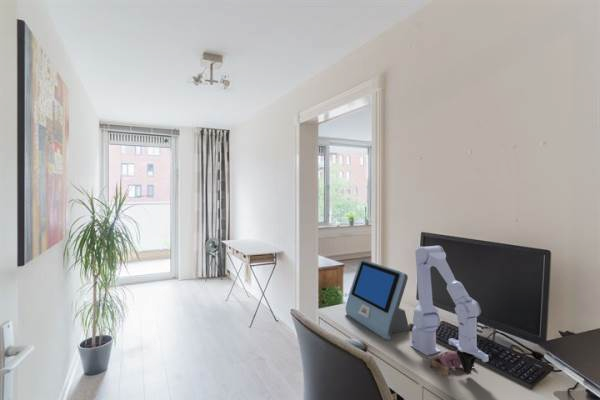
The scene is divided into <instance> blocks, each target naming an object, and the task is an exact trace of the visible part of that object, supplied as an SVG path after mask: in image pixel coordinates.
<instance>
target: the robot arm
mask: <svg viewBox="0 0 600 400" xmlns="http://www.w3.org/2000/svg"><path fill="white" fill-rule="evenodd" d="M414 253H415V267H416V268H415V269H416V278H417V279H416V280H417V293H418V294H417V295H418V305H417V306H416V307H415V309H413V318H412V323H413V326H412V328H411V344H409V345H410V347H412V348H413V349H415V350H417V351H419V352H420V353H422V354H424V355H425V356H429V355H433V354H436V353H440V352H441V349H440V348H438V347H437V330H438V327H439V326H440V325H441V317H440V314H439V310H438V308H436V307H435V306H434V302H433V288H432V287H433V286H432V274H431V268H432V267H434V268H436V269H437V271H438V272H439V274H440V275H441V277H442V278H443V280H444V281H445V283H446V284H447V285H446V290H447V292H448V294H449V296H450V298H451V299H452V302H453V303H454V305H455V307H454V312H455V314H456V318H457V319H456V320H457V322H458V339H455V338H453V337H452V338H448V345H450V346H453V347H456V348H457V351H456V352H457V355H458V356H459V358H460V360H461V363H462V364H461V363H460V364H461V366H462V369H463V370H462V371H463V373H465V374H467V375H468V374H471V372H472V370H473V368H472V367H473V364H474V365H475V362H476V361H477V359H480V360H481V361H482V362H483V363H486V362H489V355H488V354H486V353H485V352H483V351H482V350H480V348H478V347H477V344H478V342H477V337H478V336H477V334H478V332H477V330H478V329H477V328H478V327H477V326H478V325H477V321H478V318H477V317H479V316H480V315H481V313H482V310H481V307H480V304H479V302H477V300H475V299H473V297H470V295H469V293H468V291H467V290H466V288H465V286H464V284H463V283H462V281H458V280H457V279H456V278H455V276H454V273H453V271H452V270H451V267H450V266H449V263H448V262H447V260H446V258H447V253H446V251H445V250H444V248H443V247H442V246H441V245H431V246H419V247H417V249H416V250H415V252H414Z"/></svg>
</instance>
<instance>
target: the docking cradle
mask: <svg viewBox="0 0 600 400" xmlns="http://www.w3.org/2000/svg"><path fill="white" fill-rule="evenodd" d="M429 360H430V361H429V363H430V365H429V366H430V369H432V370H434V371H435V372H437V373H439V374H440V373H441V374H440V375H442V376H444V377H445V378H447V377H449V373H448V368H446V367H445V366H443V365H442V364H441V362H440V360H439V356H437V357H433V358H430V359H429ZM449 361H450V362H451V363H453V361H454V360H449ZM473 367H474V368H475V363H474V364H473Z"/></svg>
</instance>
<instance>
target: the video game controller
mask: <svg viewBox="0 0 600 400" xmlns="http://www.w3.org/2000/svg"><path fill="white" fill-rule="evenodd" d="M438 357H439V360H440V362H441V364H442V365H443V366H445V367H446V368H448V374H449V373H450V369H452V368H453V367H454V368H460V366H461V365H462V363H461V360H460V358H459V356H458V355H457V351H456V350H455V351H454V350H448V351H444V352H442V353H440V354H439V356H438ZM449 360H454V361H453V362H450V361H449Z"/></svg>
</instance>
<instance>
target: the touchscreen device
mask: <svg viewBox="0 0 600 400" xmlns="http://www.w3.org/2000/svg"><path fill="white" fill-rule="evenodd" d="M408 277H409V276H408V274H406V273H404V272H402V271H399V270H397V269H393V268H391V267H387V266H385V265H381V264H377V263H375V262H371V261H369V260H366V259H361V260H360V261H359V262H358V265H357V269H356V272H355V275H354V278H353V280H352V283H351V284H352V285H351V287H350V291H349V292H348V296H347V301H346V306H345V313H346V315H348V317H350V318H352V319H353V320H355V321H356V322H358V323H359V324H361V325H363V326H364V327H366V328H367V329H368V330H370V331H371V332H373V333H375V334H376V335H378V336H380V337H381V338H382V339H385V340H387V341H390V339H391V336H392V333H398V332H399V333H400V332H405V331H409V330H410V327H409V322H408V319H407V315H406V311H405V309H402V308H400V305H401V303H402V299H403V296H404V293H405V290H406V285H407V282H408Z"/></svg>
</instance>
